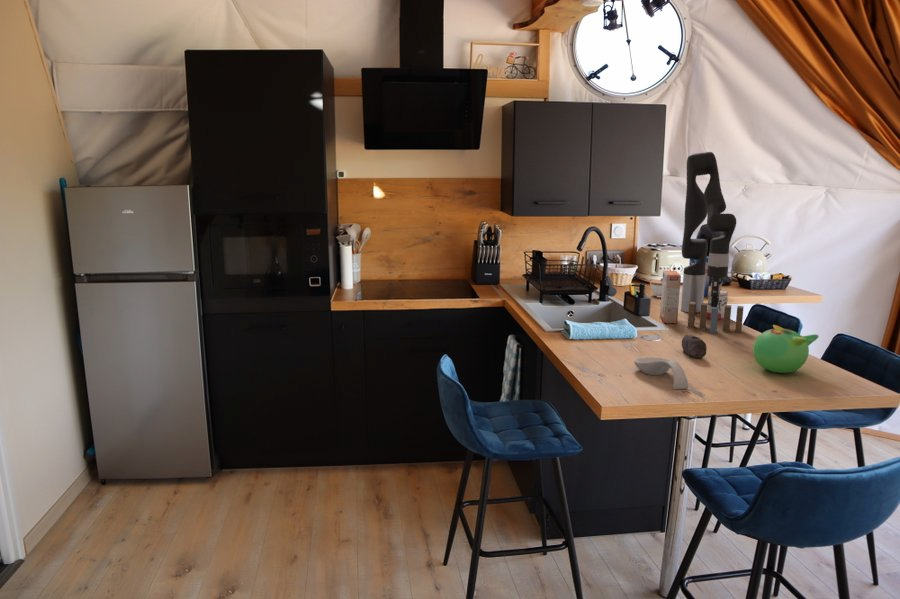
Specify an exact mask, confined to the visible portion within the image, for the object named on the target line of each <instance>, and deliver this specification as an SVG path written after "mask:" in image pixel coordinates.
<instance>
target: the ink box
mask: <svg viewBox="0 0 900 599" xmlns="http://www.w3.org/2000/svg"><path fill="white" fill-rule="evenodd" d="M728 297H729V291H725V290H721V291H720V294H719V303H718V304H717V307H718V318H717V321H719V320H721V319H724V318H723V317H724V312H725V305H728ZM707 298H708V299H707V303H708V307H707V320H708V319H709V320H711V310H712V307H711V299H712V297H711V291H708V297H707Z"/></svg>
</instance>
